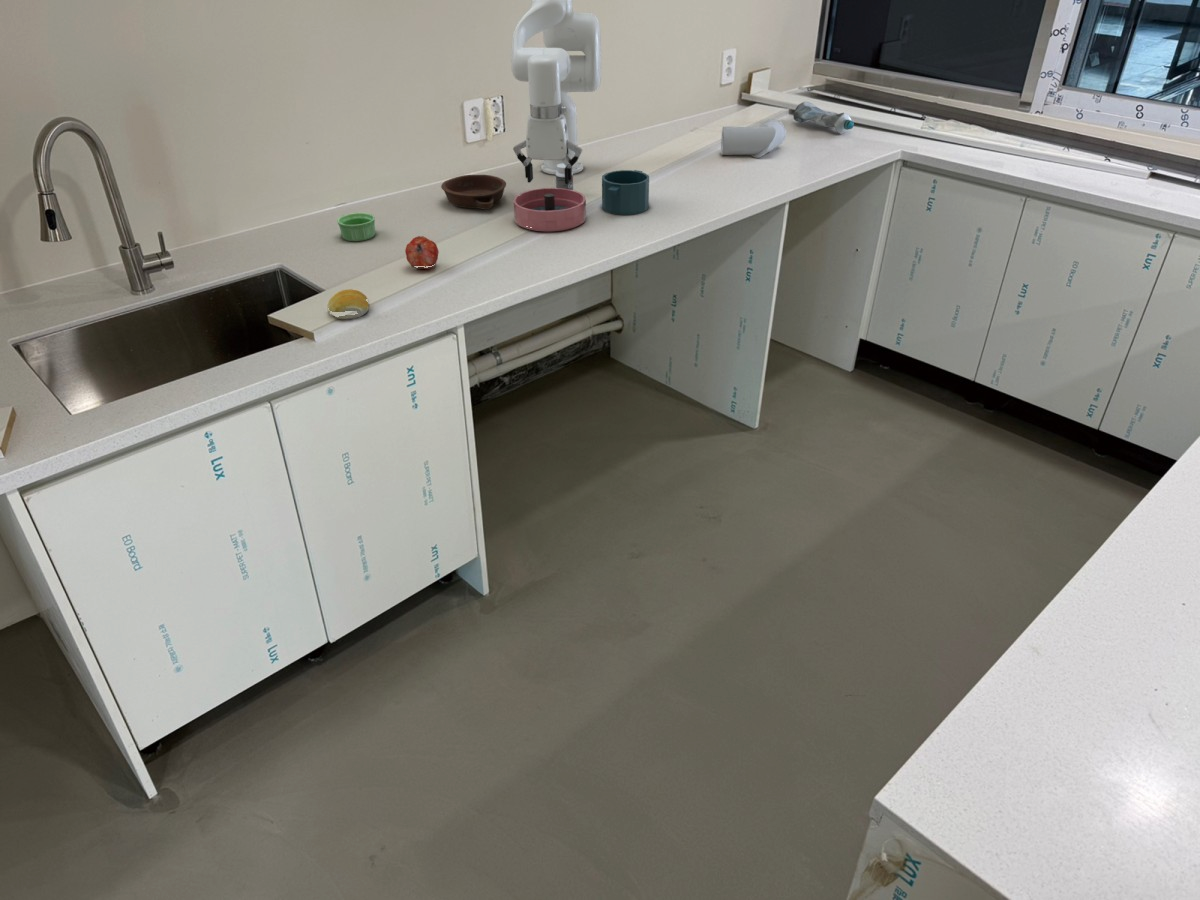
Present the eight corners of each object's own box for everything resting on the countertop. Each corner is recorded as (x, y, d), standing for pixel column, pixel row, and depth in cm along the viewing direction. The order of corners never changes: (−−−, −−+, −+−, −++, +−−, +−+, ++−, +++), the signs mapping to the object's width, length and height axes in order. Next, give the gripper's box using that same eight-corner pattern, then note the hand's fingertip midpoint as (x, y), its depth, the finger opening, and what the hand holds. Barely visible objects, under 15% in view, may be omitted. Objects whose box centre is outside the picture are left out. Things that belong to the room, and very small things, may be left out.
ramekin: (343, 230, 213) (340, 213, 211) (379, 228, 214) (376, 211, 211) (337, 243, 206) (334, 225, 203) (374, 241, 207) (372, 224, 204)
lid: (515, 223, 215) (513, 199, 212) (539, 207, 225) (538, 184, 222) (561, 230, 210) (560, 206, 207) (584, 213, 220) (584, 190, 217)
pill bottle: (571, 199, 232) (570, 168, 227) (554, 198, 233) (553, 167, 228) (575, 193, 236) (574, 163, 231) (558, 192, 236) (557, 162, 232)
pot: (590, 214, 221) (589, 184, 217) (617, 194, 235) (617, 165, 230) (633, 220, 217) (634, 190, 213) (658, 200, 230) (659, 170, 226)
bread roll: (367, 299, 179) (364, 281, 177) (371, 317, 172) (368, 299, 170) (327, 304, 177) (323, 286, 175) (329, 322, 170) (325, 304, 168)
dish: (454, 219, 219) (452, 200, 217) (434, 194, 236) (432, 176, 233) (518, 209, 225) (517, 191, 222) (494, 186, 242) (492, 168, 239)
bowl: (500, 222, 217) (498, 201, 214) (548, 203, 229) (547, 183, 226) (552, 238, 207) (551, 216, 204) (600, 218, 219) (600, 197, 216)
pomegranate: (410, 271, 197) (395, 260, 187) (417, 241, 197) (402, 228, 187) (440, 277, 196) (426, 266, 186) (447, 246, 196) (434, 233, 186)
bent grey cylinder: (765, 160, 255) (791, 145, 269) (762, 124, 250) (788, 110, 264) (713, 165, 265) (740, 150, 279) (709, 130, 260) (736, 116, 274)
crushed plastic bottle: (785, 122, 297) (832, 137, 278) (789, 101, 293) (837, 114, 275) (815, 121, 302) (862, 136, 284) (818, 100, 299) (867, 113, 280)
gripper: (583, 108, 205) (585, 178, 215) (514, 105, 207) (519, 175, 217) (578, 116, 199) (579, 188, 209) (507, 114, 201) (512, 185, 211)
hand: (548, 181), depth 213 cm, fingers open, 9 cm apart
